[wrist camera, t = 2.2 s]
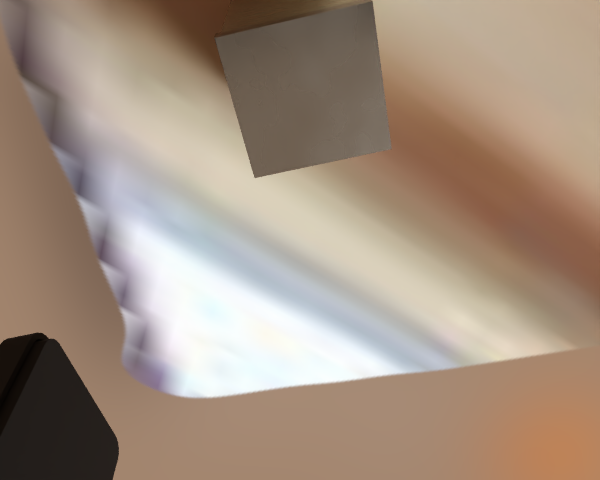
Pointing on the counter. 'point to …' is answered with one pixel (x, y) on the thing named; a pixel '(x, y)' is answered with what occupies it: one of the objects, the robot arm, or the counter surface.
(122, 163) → the counter surface
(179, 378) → the counter surface
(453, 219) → the counter surface
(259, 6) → the tea tin
